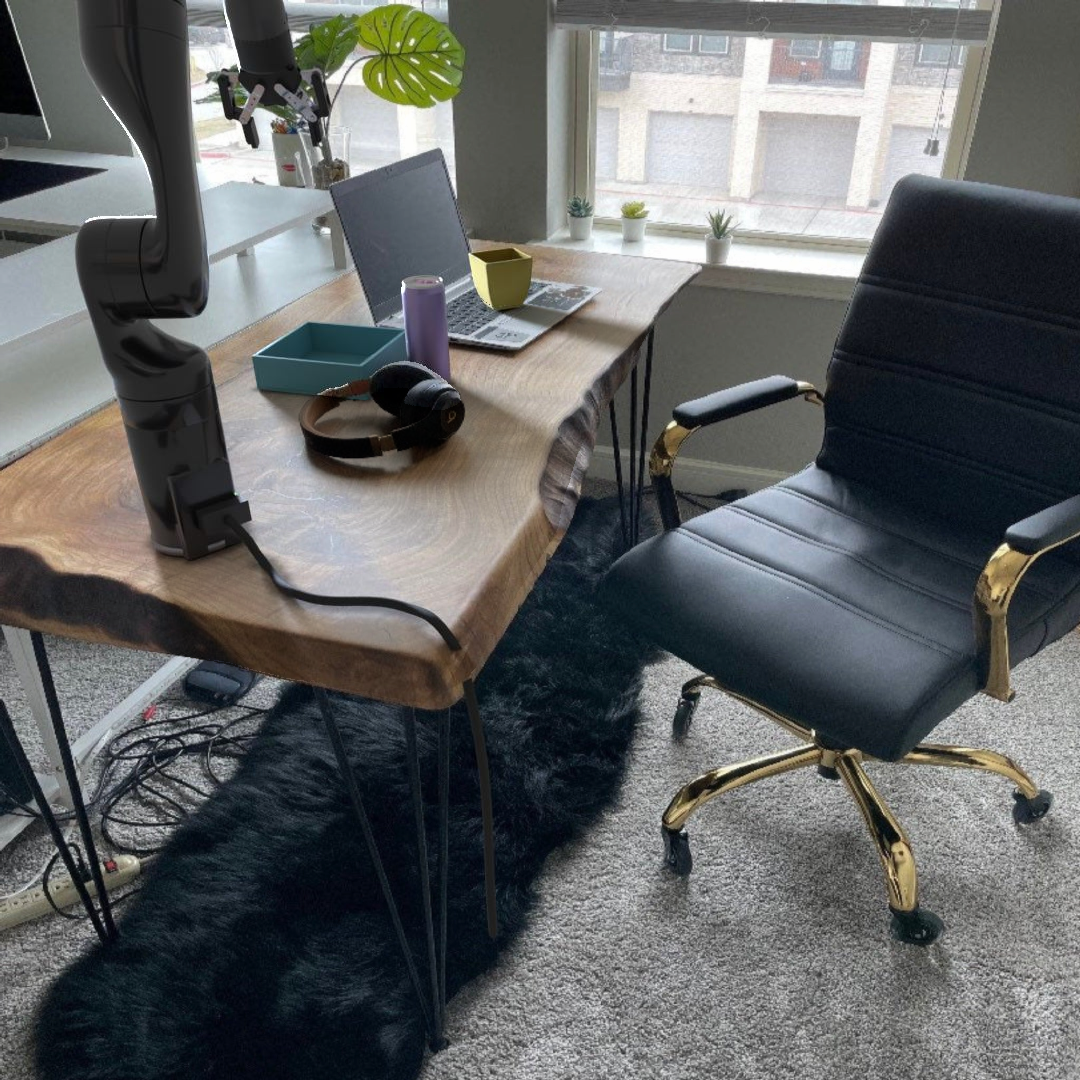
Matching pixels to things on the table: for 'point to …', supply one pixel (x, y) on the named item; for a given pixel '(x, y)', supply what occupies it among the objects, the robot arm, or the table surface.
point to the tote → (327, 357)
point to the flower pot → (502, 276)
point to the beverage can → (426, 323)
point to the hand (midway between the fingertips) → (286, 145)
